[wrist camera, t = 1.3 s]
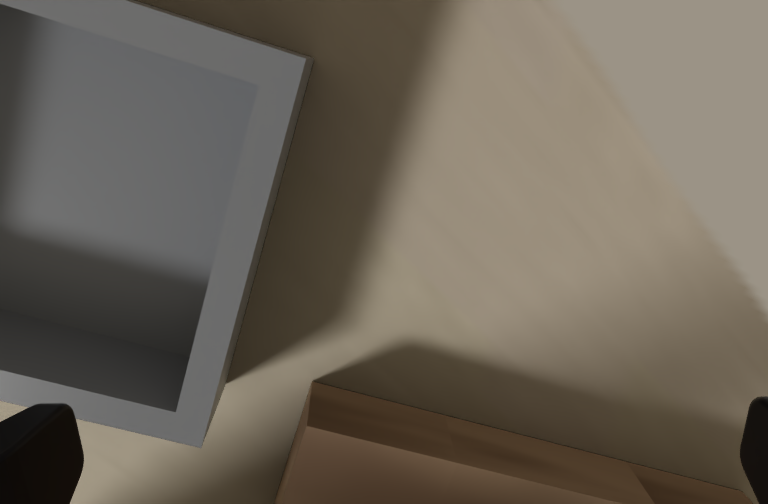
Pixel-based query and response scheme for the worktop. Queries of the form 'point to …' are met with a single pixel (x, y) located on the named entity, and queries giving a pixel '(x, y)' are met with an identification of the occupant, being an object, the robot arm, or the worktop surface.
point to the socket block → (456, 462)
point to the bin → (133, 205)
